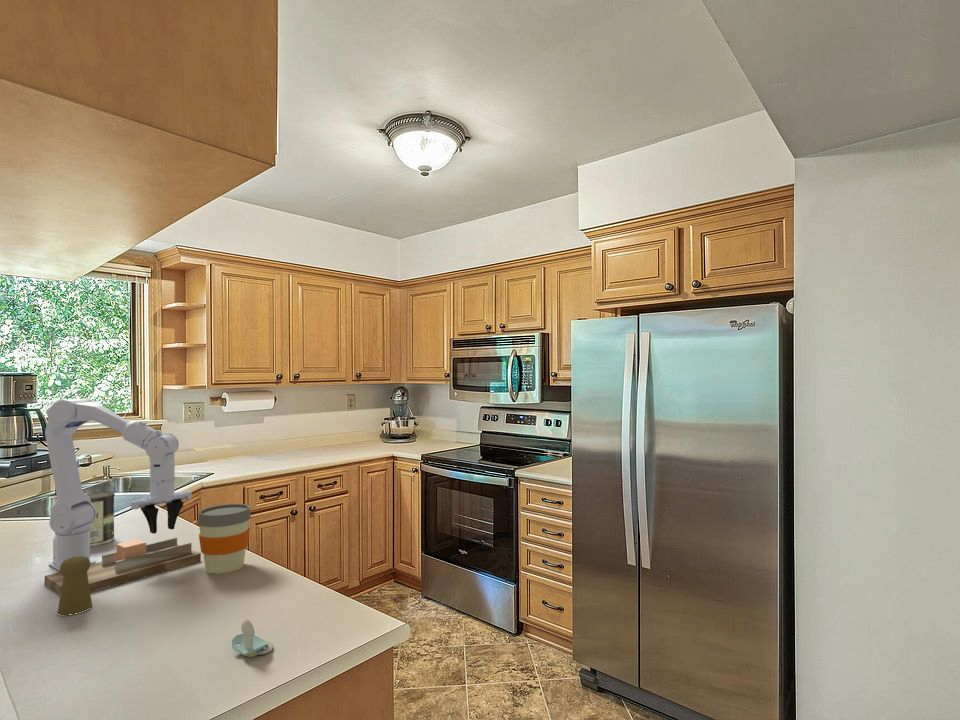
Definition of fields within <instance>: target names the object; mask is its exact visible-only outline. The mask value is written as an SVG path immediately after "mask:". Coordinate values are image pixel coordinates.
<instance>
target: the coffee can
mask: <svg viewBox="0 0 960 720" xmlns="http://www.w3.org/2000/svg"><path fill="white" fill-rule="evenodd" d="M86 494H87V495H88V496H89V497H90V500H91V503H92V504H93V505H94V507H95V508H96V518H95V520H94V521H93V522H92V523H91V527H90V547H95V546H100V545H101V546H102V545H104V544H108V543H111V542H113V541H114V540H115V492H113V491H99V492H97V491H96V492H90V493H86Z"/></svg>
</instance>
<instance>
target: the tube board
mask: <svg viewBox="0 0 960 720" xmlns="http://www.w3.org/2000/svg"><path fill="white" fill-rule="evenodd" d="M201 554H202V552H198V551H196V550H192V542H188V543H187V542H186V543H182V544H178V537H172V538H168V539H164V540H159V541H155V542H152V543H148V544H147V543H146V554H143V555H139V556H135V557H131V558H127V559H123V560H119V561H116V551H114V552H110V553H106V554H103V555H101V561H99V562H96V563H93V564H90V567H89V570H88V571H87V575H88V582H89V588H90V591H93V592H95V591H94V590H96V591H98V590H97V589H100V590H102V589H101V588H103V589H106V588H105V587H107V588H109V587H108V586H110V587H113V586H112V585H114V586H116V585H115V584H117V585H120V584H119V583H121V584H123V583H122V582H124V583H127V582H126V581H128V582H131V581H134V580H133V579H135V580H138V579H142V578H145V577H144V576H146V577H149V576H152V574H153V575H156V574H160V573H162V571H163V572H167V571H169V569H170V570H173V569H172V568H174V569H177V568H180V566H181V567H184V566H187V564H188V565H191V564H194V562H195V563H197V561H198V562H201V561H200V560H202V557H201V556H202V555H201ZM190 563H191V564H190ZM183 565H184V566H183ZM176 567H177V568H176ZM166 570H167V571H166ZM159 572H160V573H159ZM155 573H156V574H155ZM148 575H149V576H148ZM141 577H142V578H141ZM137 578H138V579H137ZM130 580H131V581H130ZM62 582H63V575H62V574H61V572H60V571H58V572H56V573H51V574H47V575H44V585H45V584H46V585H47V587H48V586H49V587H50V588H49V587H48V588H49V589H51V588H52V589H53V590H52V589H51V590H52V591H54V592H55V593H57V592H58V593H57V594H59V595H60V594H61V588H62ZM46 585H45V586H46Z"/></svg>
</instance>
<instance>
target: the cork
mask: <svg viewBox="0 0 960 720" xmlns="http://www.w3.org/2000/svg"><path fill="white" fill-rule="evenodd" d="M90 565H91V564H90V560H89V559H88V558H87V557H83V556H80V557H73V558H69V559H67V560H65V561H63V562H62V564H61V567H60V571H59V572H61V574H62V575H63V582H62V588H61V594H59V595H60V596H59V602H58V608H57V613H58V614H60V615H69V614H75V613H79V612H82V611H85V610H87V609H89V608H91V607H92V608H93V602H92V596H91V592H90V588H89V582H88V575H87V571H88V570H89V567H90ZM89 610H90V609H89ZM85 612H86V611H85ZM58 614H57V615H58Z"/></svg>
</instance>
